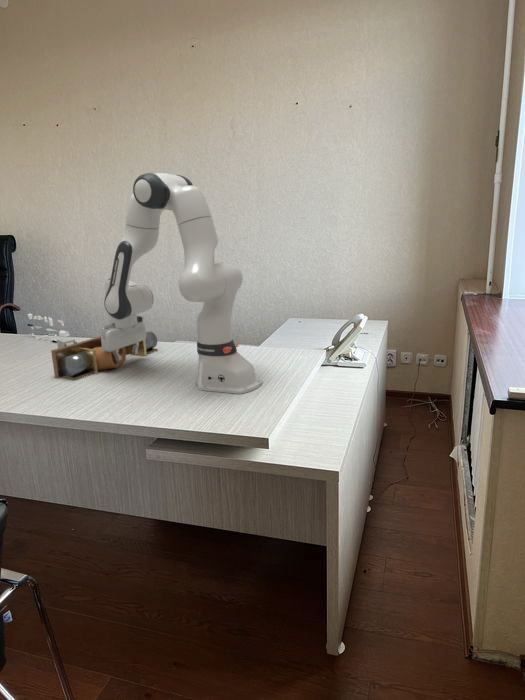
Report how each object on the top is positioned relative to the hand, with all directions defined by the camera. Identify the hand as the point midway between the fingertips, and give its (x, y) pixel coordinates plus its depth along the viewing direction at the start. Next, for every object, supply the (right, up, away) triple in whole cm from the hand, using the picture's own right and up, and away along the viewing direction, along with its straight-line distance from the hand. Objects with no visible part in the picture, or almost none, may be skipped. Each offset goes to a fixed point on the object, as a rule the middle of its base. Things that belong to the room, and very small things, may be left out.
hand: (127, 357), depth 197 cm
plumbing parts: (-45, +6, +41) cm, 61 cm away
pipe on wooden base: (-6, -2, +5) cm, 8 cm away
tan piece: (-3, +2, +1) cm, 4 cm away
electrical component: (-26, +1, +19) cm, 33 cm away
